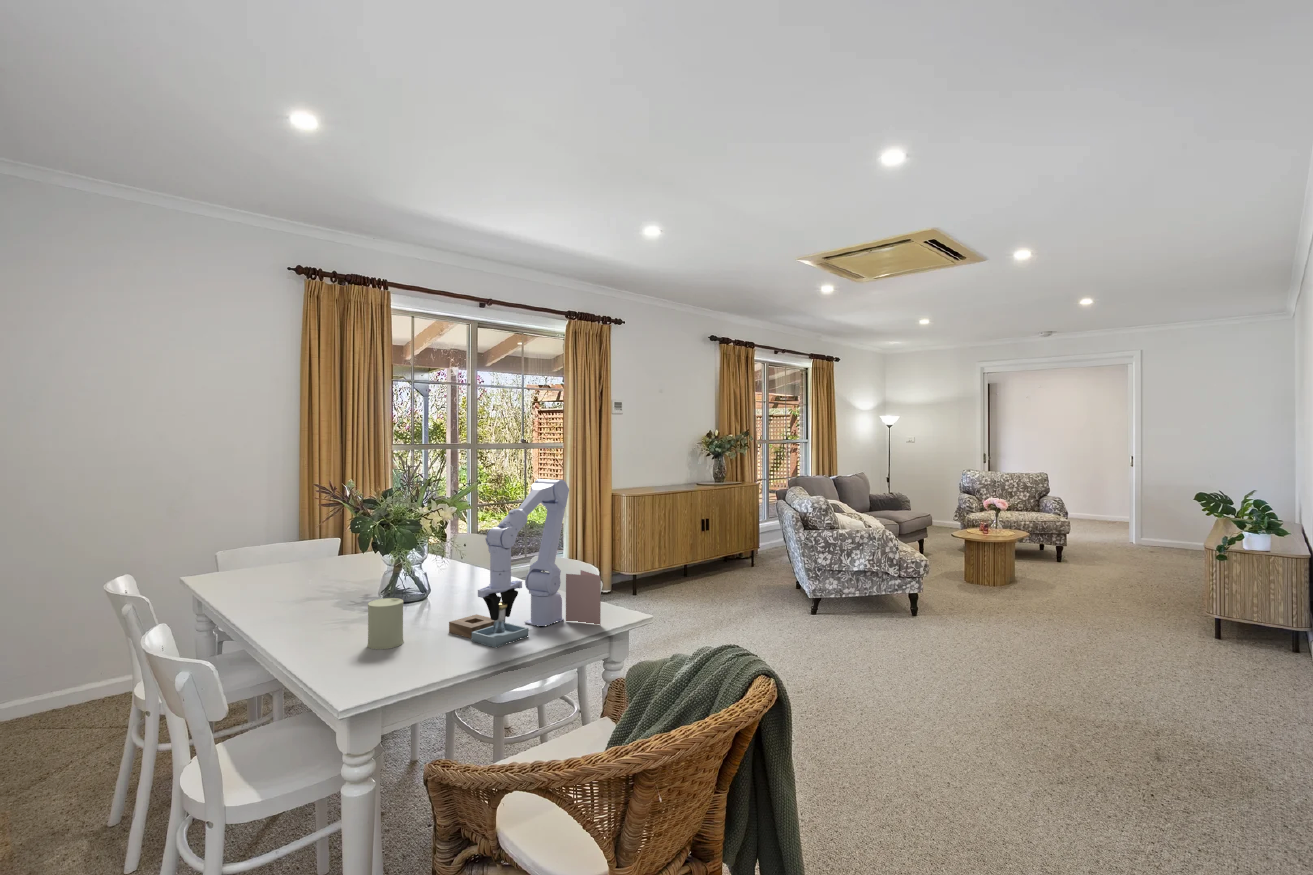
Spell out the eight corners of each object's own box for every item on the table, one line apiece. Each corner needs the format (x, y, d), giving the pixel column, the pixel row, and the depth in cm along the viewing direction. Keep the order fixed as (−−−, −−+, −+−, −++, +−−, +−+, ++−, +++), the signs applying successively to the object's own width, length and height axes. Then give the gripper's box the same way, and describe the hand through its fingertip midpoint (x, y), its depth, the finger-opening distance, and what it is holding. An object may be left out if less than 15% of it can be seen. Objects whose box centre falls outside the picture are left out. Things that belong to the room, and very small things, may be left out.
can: (410, 642, 180) (411, 598, 180) (381, 651, 172) (382, 606, 172) (389, 636, 185) (389, 594, 185) (359, 645, 177) (360, 601, 177)
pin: (499, 628, 187) (501, 600, 186) (509, 631, 184) (510, 603, 184) (488, 631, 183) (490, 603, 183) (498, 635, 181) (499, 606, 181)
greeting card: (602, 625, 198) (603, 575, 198) (581, 629, 193) (582, 578, 193) (582, 616, 206) (582, 569, 206) (562, 620, 202) (562, 572, 202)
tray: (504, 630, 191) (504, 622, 191) (528, 636, 186) (528, 628, 186) (471, 640, 182) (471, 632, 182) (495, 647, 176) (495, 638, 176)
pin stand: (476, 624, 198) (476, 614, 198) (498, 629, 192) (498, 619, 192) (449, 632, 190) (449, 621, 190) (471, 638, 184) (471, 627, 184)
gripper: (510, 564, 192) (510, 610, 192) (470, 572, 180) (470, 621, 180) (527, 566, 188) (527, 614, 188) (487, 575, 176) (487, 625, 176)
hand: (500, 617), depth 184 cm, fingers closed on pin, 4 cm apart
